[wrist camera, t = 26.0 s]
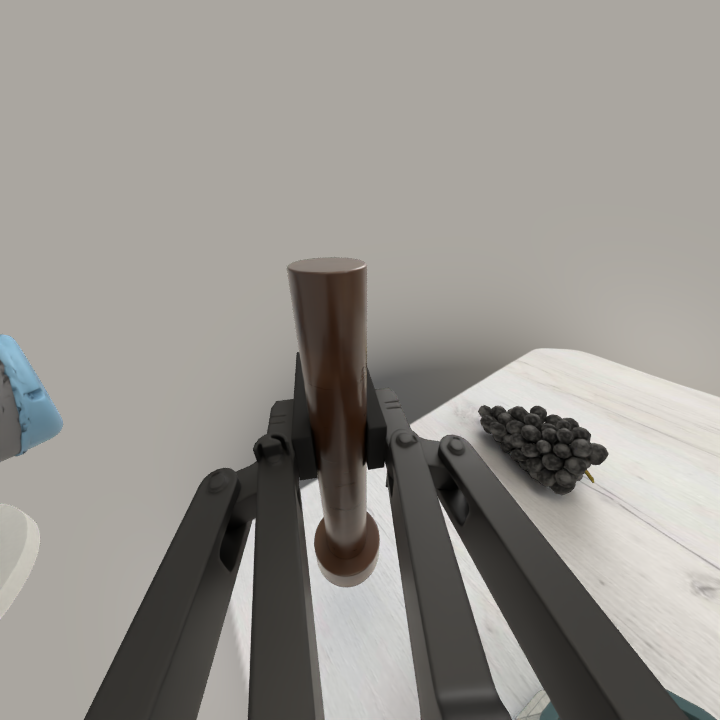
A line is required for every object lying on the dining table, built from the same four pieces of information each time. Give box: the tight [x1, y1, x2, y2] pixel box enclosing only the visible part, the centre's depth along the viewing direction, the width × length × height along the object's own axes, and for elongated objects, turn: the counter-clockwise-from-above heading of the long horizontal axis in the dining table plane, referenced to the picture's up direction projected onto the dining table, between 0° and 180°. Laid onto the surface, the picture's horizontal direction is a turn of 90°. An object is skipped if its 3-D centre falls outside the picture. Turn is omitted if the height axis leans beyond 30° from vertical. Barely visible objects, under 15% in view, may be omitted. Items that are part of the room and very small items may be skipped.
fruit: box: [478, 405, 608, 495], centre depth 34 cm, size 9×8×15 cm
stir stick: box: [287, 257, 380, 587], centre depth 12 cm, size 4×4×18 cm
